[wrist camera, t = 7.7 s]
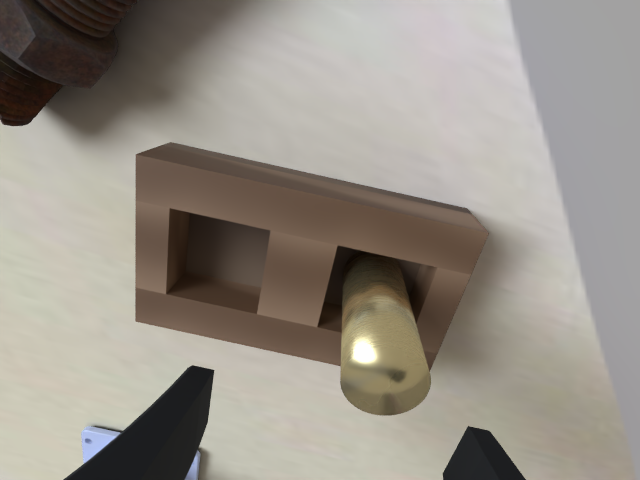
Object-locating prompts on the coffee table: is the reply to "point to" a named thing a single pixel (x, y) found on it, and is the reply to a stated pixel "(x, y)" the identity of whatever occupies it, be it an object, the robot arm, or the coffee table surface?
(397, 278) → the brass pin
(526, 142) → the coffee table surface
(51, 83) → the bolt
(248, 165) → the socket block
